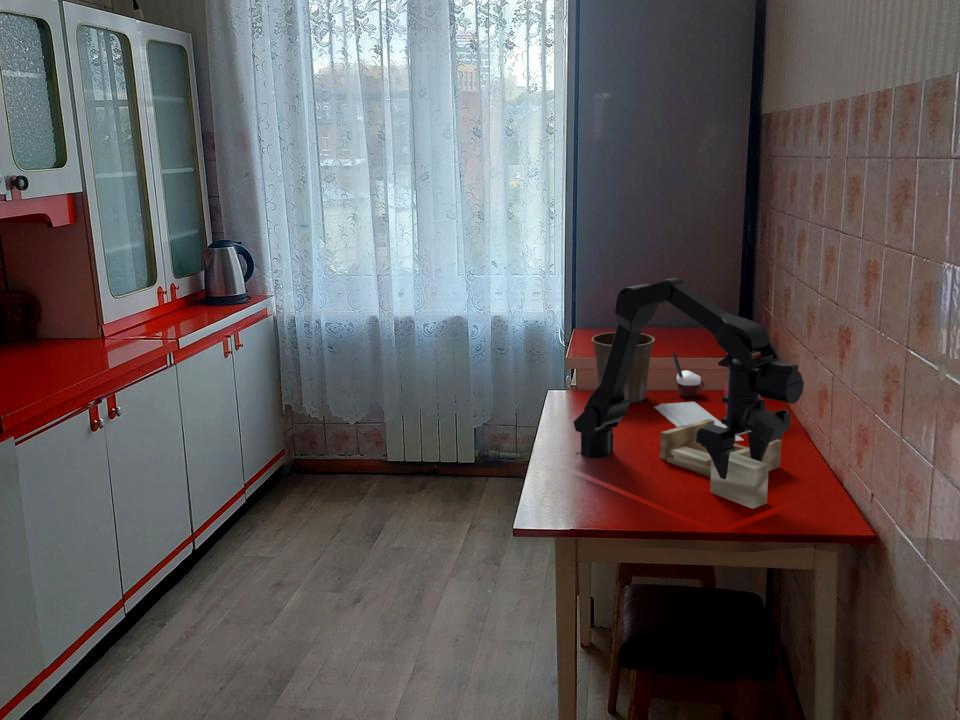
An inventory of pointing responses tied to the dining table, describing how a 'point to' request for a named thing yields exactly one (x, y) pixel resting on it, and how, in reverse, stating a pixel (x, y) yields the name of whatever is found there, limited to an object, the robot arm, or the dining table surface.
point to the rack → (688, 439)
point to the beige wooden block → (742, 481)
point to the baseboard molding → (687, 414)
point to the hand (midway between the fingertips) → (739, 473)
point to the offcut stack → (691, 460)
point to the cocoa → (687, 381)
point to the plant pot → (638, 368)
